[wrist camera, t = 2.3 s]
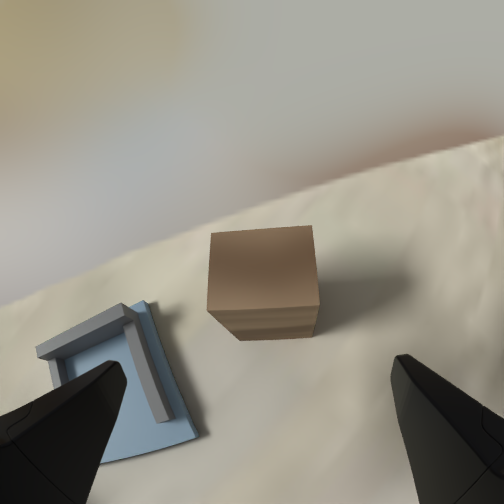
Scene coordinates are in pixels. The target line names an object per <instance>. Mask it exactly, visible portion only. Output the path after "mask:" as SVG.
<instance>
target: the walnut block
mask: <svg viewBox="0 0 504 504" xmlns="http://www.w3.org/2000/svg"><path fill="white" fill-rule="evenodd" d="M319 306H320V301H319V289H318V278H317V268H316V258H315V249H314V240H313V231H312V225H309V226H295V227H281V228H268V229H255V230H242V231H230V232H218V233H211V243H210V259H209V275H208V294H207V311H208V312H209V313H210V314H211V315H212V316H213V317H214V318H215V319H216V320H217V321H218V322H220V323H221V324H222V325H223V326H224V327H225V328H226V329H227V330H228V331H229V332H230V333H232V334H233V335H234V336H235V337H236V338H237V339H238V340H239V341H251V340H278V339H296V338H311V337H312V335H313V331H314V327H315V323H316V319H317V315H318V311H319Z"/></svg>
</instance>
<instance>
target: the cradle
mask: <svg viewBox="0 0 504 504" xmlns="http://www.w3.org/2000/svg"><path fill="white" fill-rule="evenodd" d="M36 351H37V358H40V359H43V360H47V361H48V364H49V369H50V374H51V378H52V383H53V387H54V389H56V388H58V387H60V386H62V385H63V384H65V383H67V382H69V381H71V380H73V379H74V378H76V377H78V376H80V375H82V374H84V373H85V372H87V371H89V370H91V369H93V368H95V367H96V366H98V365H100V364H102V363H104V362H105V361H107V360H114V361H118V362H119V363H120V364H121V366H122V368H123V371H124V373H125V375H126V378H127V387H126V390H125V394H124V397H123V401H122V404H121V408H120V411H119V415H118V418H117V421H116V423H115V426H114V429H113V431H112V434H111V436H110V439H109V441H108V444H107V446H106V449H105V452H104V454H103V457H102V460H101V462H100V463H104V462H109V461H114V460H118V459H123V458H127V457H131V456H135V455H139V454H143V453H147V452H151V451H154V450H158V449H161V448H165V447H168V446H171V445H175V444H178V443H181V442H184V441H187V440H190V439H193V438H196V437H199V434H198V432H197V430H196V428H195V426H194V424H193V421H192V419H191V417H190V415H189V412H188V410H187V408H186V406H185V403H184V401H183V399H182V396H181V394H180V391H179V389H178V386H177V384H176V382H175V379H174V377H173V374H172V371H171V369H170V366H169V364H168V361H167V358H166V356H165V353H164V350H163V347H162V345H161V342H160V339H159V336H158V333H157V330H156V327H155V324H154V321H153V318H152V315H151V312H150V309H149V306H148V303H146V302H145V301H144V300H143V301H141V302H139V303H137V304H135V305H133V306H131V307H127V306H126V305H124V304H122V303H119V304H117V305H115V306H113V307H111V308H109V309H108V310H106V311H104V312H102V313H100V314H98V315H96V316H94V317H92V318H90V319H88V320H86V321H84V322H82V323H80V324H78V325H76V326H74V327H72V328H71V329H69V330H67V331H65V332H63V333H61V334H59V335H57V336H55V337H53V338H51V339H49V340H47V341H46V342H44V343H42V344H40V345H38V346H36Z"/></svg>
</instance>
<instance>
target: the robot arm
mask: <svg viewBox="0 0 504 504" xmlns="http://www.w3.org/2000/svg"><path fill="white" fill-rule="evenodd" d="M391 385H392V390H393V396H394V401H395V407H396V412H397V418H398V423H399V426H400V430H401V433H402V437H403V440H404V444H405V447H406V451H407V455H408V458H409V462H410V466H411V470H412V474H413V478H414V482H415V486H416V490H417V495H418V499H419V504H504V419H503V418H502V417H500V416H499V415H497V414H496V413H494V412H493V411H491V410H490V409H488V408H487V407H485V406H483V405H482V404H481V403H479V402H478V401H476V400H475V399H473V398H472V397H470V396H469V395H468V394H466V393H465V392H463V391H462V390H460V389H459V388H457V387H456V386H454V385H453V384H451V383H450V382H449V381H447V380H446V379H444V378H443V377H441V376H440V375H438V374H437V373H435V372H434V371H432V370H431V369H429V368H428V367H427V366H425V365H424V364H422V363H421V362H419V361H418V360H416V359H415V358H413V357H412V356H410V355H409V354H402V355H397V356H396V357H395V358H394V362H393V367H392V372H391ZM126 387H127V378H126V375H125V373H124V371H123V368H122V366H121V364H120V363H119V362H118V361H114V360H107V361H105V362H104V363H102V364H100V365H98V366H96V367H95V368H93V369H91V370H89V371H87V372H85V373H84V374H82V375H80V376H78V377H76V378H74V379H73V380H71V381H69V382H67V383H65V384H63V385H62V386H60V387H58V388H56V389H54V390H52V391H50V392H49V393H47V394H45V395H43V396H41V397H39V398H37V399H35V400H34V401H31V402H30V403H28V404H26V405H24V406H22V407H20V408H18V409H16V410H14V411H11V412H9V413H7V414H4V415H2V416H0V504H86V502H87V499H88V496H89V493H90V490H91V487H92V484H93V482H94V479H95V476H96V473H97V470H98V468H99V465H100V462H101V460H102V457H103V454H104V452H105V449H106V446H107V444H108V441H109V439H110V436H111V434H112V431H113V429H114V426H115V423H116V421H117V418H118V415H119V411H120V408H121V404H122V401H123V397H124V394H125V390H126Z"/></svg>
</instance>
